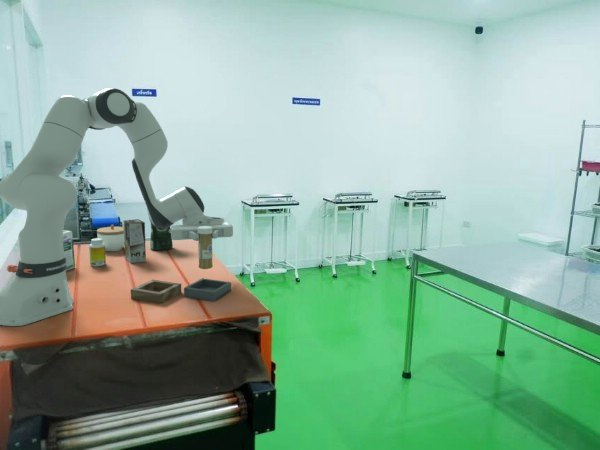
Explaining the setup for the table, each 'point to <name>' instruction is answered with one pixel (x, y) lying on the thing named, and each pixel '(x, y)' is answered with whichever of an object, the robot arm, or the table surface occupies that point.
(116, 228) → the lidded bowl
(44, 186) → the robot arm
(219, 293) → the tray
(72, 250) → the syrup box
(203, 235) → the sprinkles bottle
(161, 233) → the coffee jar
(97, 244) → the supplement bottle
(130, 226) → the coffee box
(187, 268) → the table surface
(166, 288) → the socket block
